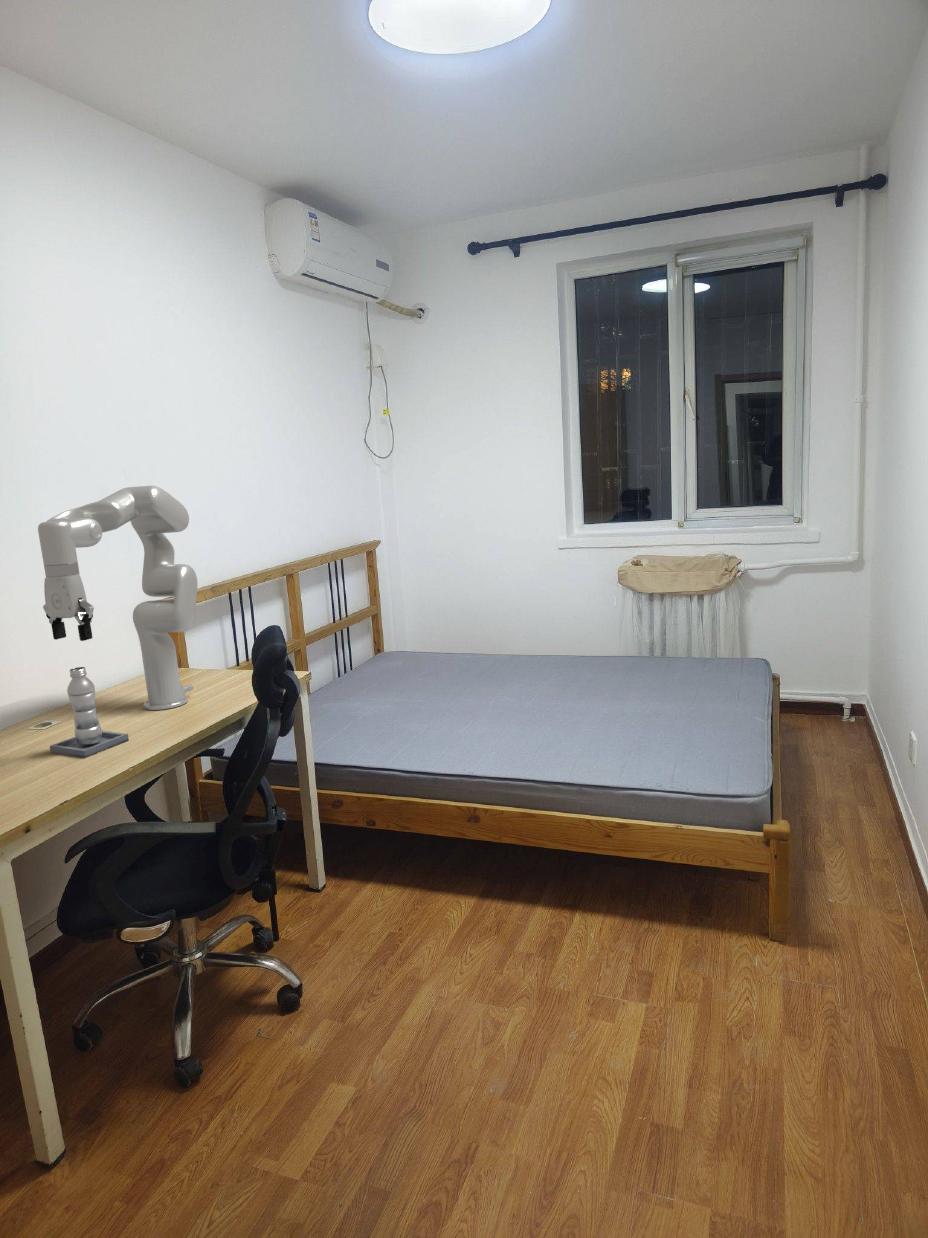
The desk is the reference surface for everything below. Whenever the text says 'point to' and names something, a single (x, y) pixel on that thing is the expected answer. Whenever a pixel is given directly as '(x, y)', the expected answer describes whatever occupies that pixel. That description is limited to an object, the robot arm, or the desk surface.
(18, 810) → the desk surface
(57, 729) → the desk surface
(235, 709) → the desk surface
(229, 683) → the desk surface
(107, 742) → the charcoal tray
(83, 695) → the plastic bottle
